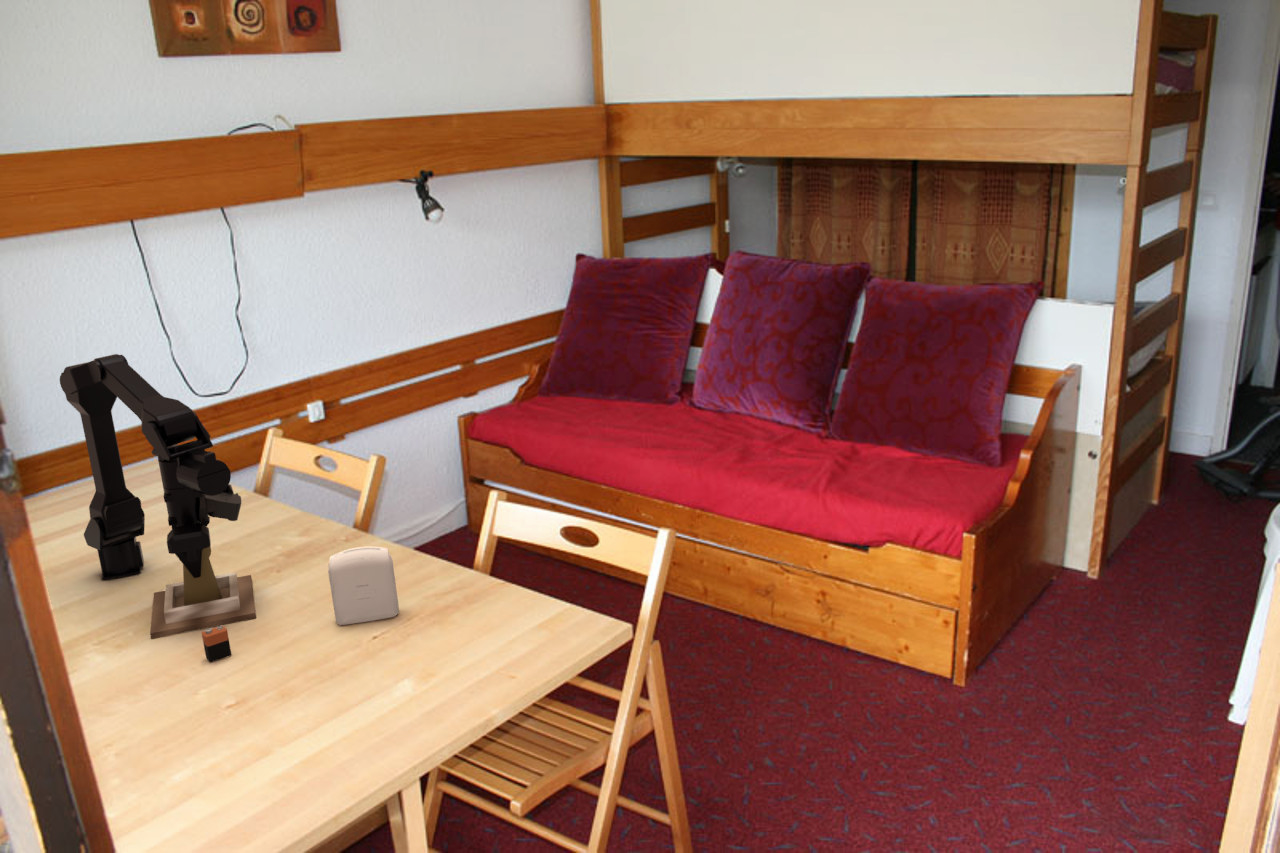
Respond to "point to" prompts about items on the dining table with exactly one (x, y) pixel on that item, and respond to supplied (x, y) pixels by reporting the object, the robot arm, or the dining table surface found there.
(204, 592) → the cork
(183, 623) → the socket board
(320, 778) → the dining table surface
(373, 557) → the photo printer
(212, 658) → the battery
